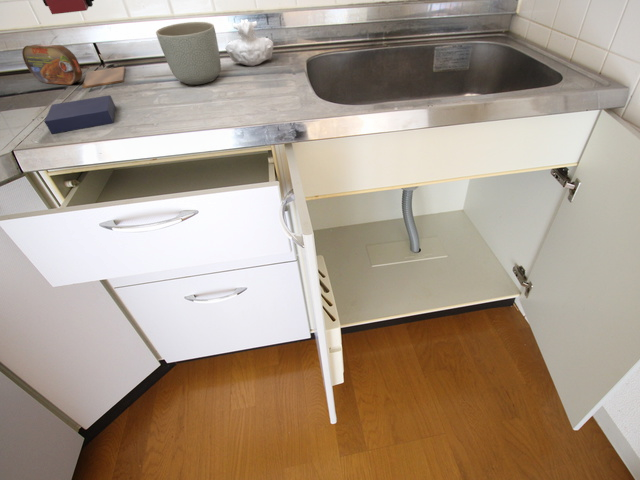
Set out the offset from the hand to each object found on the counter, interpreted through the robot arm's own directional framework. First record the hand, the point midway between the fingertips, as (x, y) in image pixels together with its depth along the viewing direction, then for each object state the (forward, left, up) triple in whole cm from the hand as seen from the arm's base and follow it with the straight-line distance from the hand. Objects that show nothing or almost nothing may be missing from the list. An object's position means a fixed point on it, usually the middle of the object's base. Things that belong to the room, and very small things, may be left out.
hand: (72, 7), depth 87 cm
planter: (+22, -13, -16) cm, 30 cm away
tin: (-10, +3, -16) cm, 19 cm away
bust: (+36, -7, -16) cm, 40 cm away
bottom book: (-2, -26, -15) cm, 30 cm away
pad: (0, +1, -15) cm, 15 cm away
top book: (0, 0, 0) cm, 0 cm away
